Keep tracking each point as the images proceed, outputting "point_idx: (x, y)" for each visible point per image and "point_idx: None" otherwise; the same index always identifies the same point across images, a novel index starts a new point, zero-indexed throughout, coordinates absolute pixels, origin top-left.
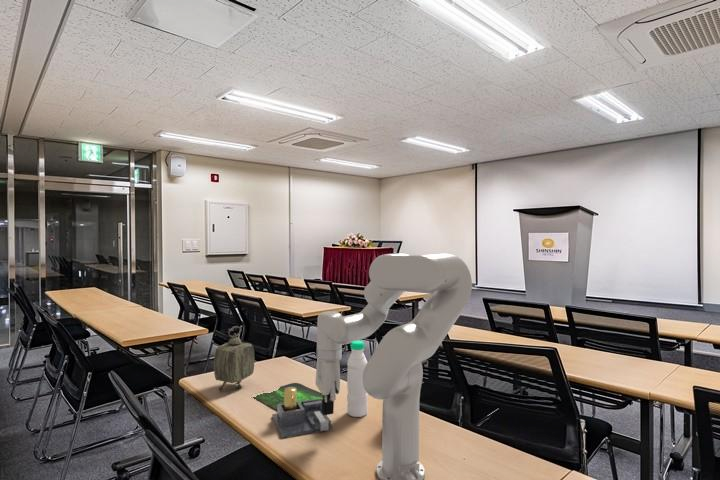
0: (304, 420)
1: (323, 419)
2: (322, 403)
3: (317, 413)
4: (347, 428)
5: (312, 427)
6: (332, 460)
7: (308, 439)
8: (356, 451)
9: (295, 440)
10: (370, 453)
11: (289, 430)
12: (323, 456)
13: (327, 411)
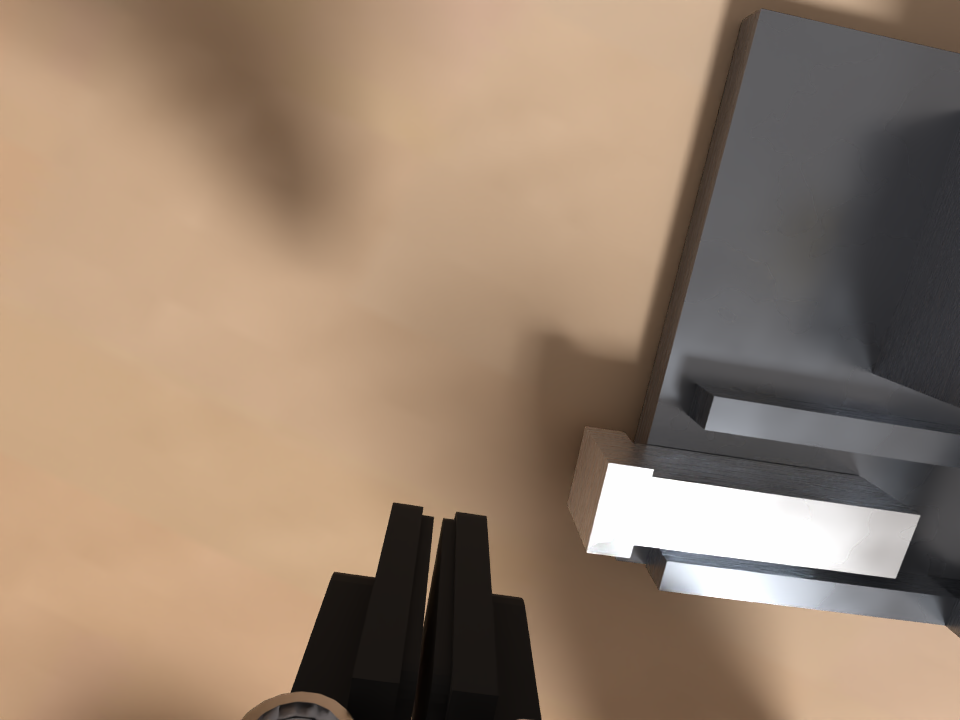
0: (884, 376)
1: (677, 528)
2: (451, 635)
3: (854, 535)
4: (542, 660)
5: (698, 387)
6: (57, 293)
7: (556, 269)
8: (121, 547)
9: (613, 140)
10: (39, 626)
11: (805, 141)
12: (166, 251)
13: (332, 592)
